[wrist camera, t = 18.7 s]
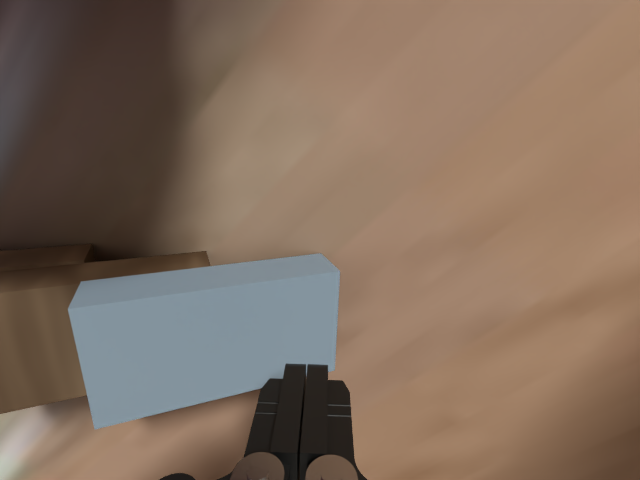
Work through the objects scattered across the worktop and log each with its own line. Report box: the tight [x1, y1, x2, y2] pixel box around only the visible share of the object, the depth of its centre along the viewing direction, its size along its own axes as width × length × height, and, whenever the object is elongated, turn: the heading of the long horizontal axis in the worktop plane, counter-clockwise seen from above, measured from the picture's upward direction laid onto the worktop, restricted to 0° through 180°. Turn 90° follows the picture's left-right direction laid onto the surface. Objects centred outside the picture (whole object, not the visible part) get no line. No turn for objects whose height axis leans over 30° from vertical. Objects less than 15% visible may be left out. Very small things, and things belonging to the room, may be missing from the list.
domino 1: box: [0, 251, 210, 414], centre depth 16 cm, size 2×5×10 cm
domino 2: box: [68, 253, 340, 429], centre depth 16 cm, size 2×5×10 cm
